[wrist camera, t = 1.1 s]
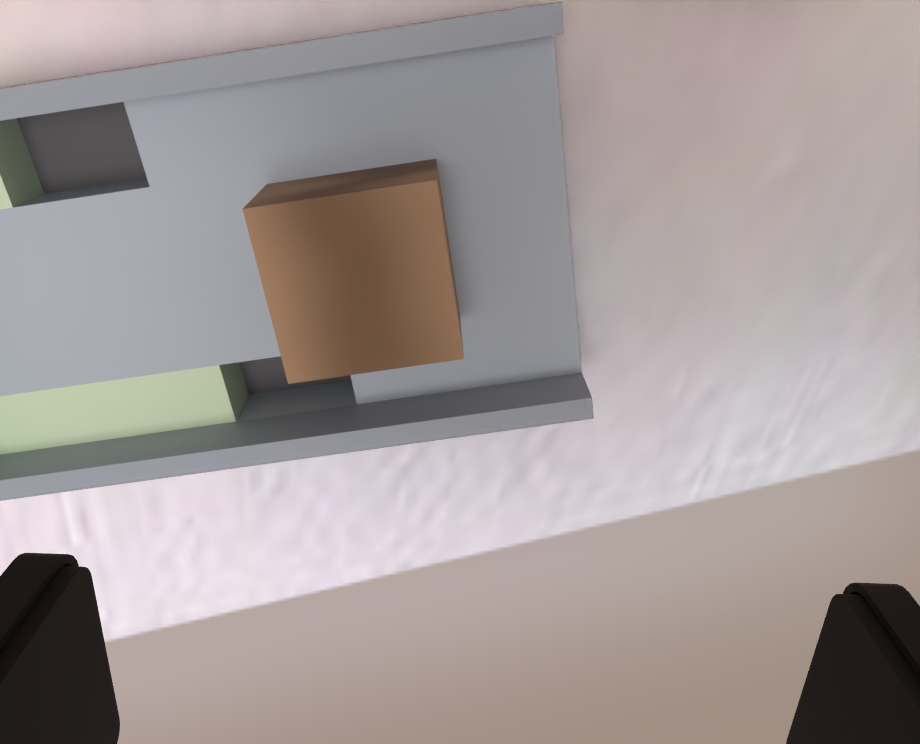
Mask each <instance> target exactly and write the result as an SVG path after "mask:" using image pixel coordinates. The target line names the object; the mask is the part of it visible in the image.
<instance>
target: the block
mask: <svg viewBox="0 0 920 744" xmlns="http://www.w3.org/2000/svg"><path fill="white" fill-rule="evenodd" d="M243 213H244V217H245V221H246V225H247V229H248V232H249V236H250V240H251V244H252V248H253V251H254V255H255V259H256V263H257V267H258V271H259V274H260V278H261V282H262V286H263V290H264V294H265V297H266V301H267V305H268V309H269V313H270V317H271V320H272V324H273V328H274V332H275V336H276V340H277V343H278V347H279V351H280V355H281V359H282V363H283V366H284V370H285V374H286V378H287V382H288V384H291V383H298V382H305V381H312V380H320V379H327V378H334V377H341V376H348V375H355V374H362V373H369V372H376V371H383V370H390V369H397V368H404V367H411V366H418V365H425V364H432V363H439V362H447V361H454V360H461V359H464V354H463V343H462V332H461V321H460V313H459V306H458V300H457V293H456V287H455V280H454V273H453V267H452V260H451V253H450V247H449V240H448V233H447V227H446V220H445V213H444V207H443V200H442V194H441V187H440V180H439V174H438V167H437V160H436V159H431V160H424V161H417V162H411V163H404V164H397V165H391V166H384V167H377V168H370V169H364V170H357V171H350V172H344V173H337V174H330V175H324V176H317V177H310V178H304V179H297V180H290V181H284V182H277V183H270V184H266V185H265V186H264V187H263V188H262V189H261V190H260V191H259V192H258V194H257V195H256V196H255V197H254V198H253V199H252V200H251V201H250V202H249V203H248V204H247V205H246V206H245V207H244V208H243Z"/></svg>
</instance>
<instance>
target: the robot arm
mask: <svg viewBox="0 0 920 744" xmlns="http://www.w3.org/2000/svg"><path fill="white" fill-rule="evenodd" d="M119 730H120V721H119V714H118V710H117V704H116V699H115V693H114V688H113V683H112V678H111V674H110V668H109V663H108V658H107V653H106V648H105V642H104V637H103V632H102V627H101V622H100V617H99V612H98V606H97V601H96V596H95V591H94V586H93V581H92V576H91V573H90V571H89V569H88V568H86V567H79V566H78V563H77V560H76V559H75V558H74V556H72V555H69V554H43V553H23V554H21V555H19V556H18V557H17V558H15V559H14V560H13V561H12V563H11V564H10V565H9V566H8V568H7V569H6V570H5V571H4V572H3V574H2V575H1V576H0V744H117V741H118V736H119ZM786 744H920V606H919V605H918V604H917V602H916V601H915V600H914V598H913V597H912V596H911V594H910V593H909V592H908V591H907V590H906V589H905V588H904V587H902V586H900V585H897V584H875V583H874V584H873V583H851V584H849V585H848V586H847V587H846V588H845V590H844V592H843V594H837V595H835V596H834V597H833V598H832V600H831V602H830V605H829V608H828V611H827V614H826V617H825V621H824V624H823V627H822V630H821V633H820V637H819V640H818V643H817V646H816V649H815V653H814V656H813V659H812V662H811V665H810V668H809V671H808V675H807V678H806V681H805V684H804V687H803V690H802V694H801V697H800V700H799V703H798V706H797V710H796V713H795V716H794V719H793V722H792V725H791V729H790V732H789V735H788V738H787V743H786Z"/></svg>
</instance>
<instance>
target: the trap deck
mask: <svg viewBox="0 0 920 744" xmlns="http://www.w3.org/2000/svg"><path fill="white" fill-rule="evenodd" d="M560 34H564V29H563V16H562V3H561V2H558V3H547V4H538V5H532V6H525V7H519V8H512V9H506V10H499V11H493V12H487V13H480V14H474V15H467V16H461V17H454V18H448V19H442V20H435V21H429V22H422V23H416V24H409V25H403V26H396V27H390V28H384V29H377V30H371V31H364V32H358V33H351V34H345V35H339V36H332V37H326V38H319V39H313V40H306V41H300V42H293V43H287V44H281V45H274V46H268V47H261V48H255V49H248V50H242V51H235V52H229V53H223V54H216V55H210V56H203V57H197V58H190V59H184V60H178V61H171V62H165V63H158V64H152V65H145V66H139V67H132V68H126V69H120V70H113V71H107V72H100V73H94V74H87V75H81V76H75V77H68V78H62V79H55V80H49V81H42V82H36V83H29V84H23V85H17V86H10V87H4V88H0V501H2V500H9V499H16V498H23V497H31V496H38V495H45V494H52V493H59V492H67V491H74V490H81V489H88V488H95V487H103V486H110V485H117V484H124V483H132V482H139V481H146V480H153V479H160V478H168V477H175V476H182V475H189V474H196V473H204V472H211V471H218V470H225V469H232V468H240V467H247V466H254V465H261V464H269V463H276V462H283V461H290V460H297V459H305V458H312V457H319V456H326V455H333V454H341V453H348V452H355V451H362V450H369V449H377V448H384V447H391V446H398V445H405V444H413V443H420V442H427V441H434V440H442V439H449V438H456V437H463V436H470V435H478V434H485V433H492V432H499V431H506V430H514V429H521V428H528V427H535V426H542V425H550V424H557V423H564V422H571V421H579V420H586V419H593V405H592V397H591V394H590V392H589V389H588V387H587V385H586V382H585V380H584V377H583V375H582V371H581V358H580V346H579V334H578V322H577V310H576V298H575V285H574V273H573V261H572V249H571V237H570V225H569V212H568V200H567V188H566V176H565V164H564V152H563V139H562V127H561V115H560V103H559V91H558V79H557V66H556V54H555V42H554V35H560ZM431 159H436V160H437V167H438V174H439V180H440V187H441V194H442V200H443V207H444V213H445V220H446V227H447V233H448V240H449V247H450V253H451V260H452V267H453V273H454V280H455V287H456V293H457V300H458V306H459V313H460V321H461V332H462V343H463V354H464V359H461V360H454V361H447V362H439V363H432V364H425V365H418V366H411V367H404V368H397V369H390V370H383V371H376V372H369V373H362V374H355V375H348V376H341V377H334V378H327V379H320V380H312V381H305V382H298V383H291V384H288V382H287V378H286V374H285V370H284V366H283V363H282V359H281V355H280V351H279V347H278V343H277V340H276V336H275V332H274V328H273V324H272V320H271V317H270V313H269V309H268V305H267V301H266V297H265V294H264V290H263V286H262V282H261V278H260V274H259V271H258V267H257V263H256V259H255V255H254V251H253V248H252V244H251V240H250V236H249V232H248V229H247V225H246V221H245V217H244V213H243V208H244V207H245V206H246V205H247V204H248V203H249V202H250V201H251V200H252V199H253V198H254V197H255V196H256V195H257V194H258V192H259V191H260V190H261V189H262V188H263V187H264V186H265V185H266V184H270V183H277V182H284V181H290V180H297V179H304V178H310V177H317V176H324V175H330V174H337V173H344V172H350V171H357V170H364V169H370V168H377V167H384V166H391V165H397V164H404V163H411V162H417V161H424V160H431Z"/></svg>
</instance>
